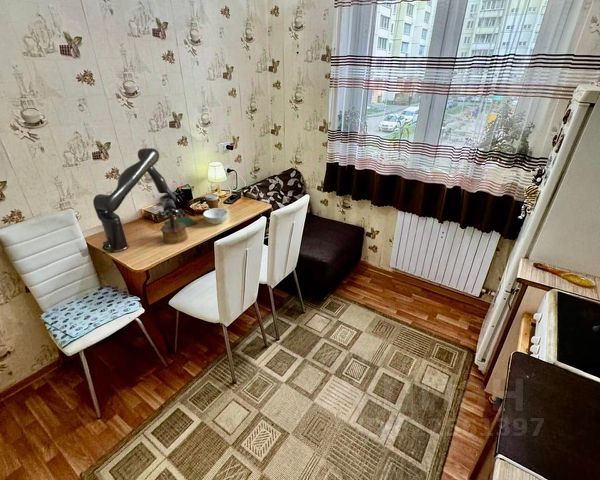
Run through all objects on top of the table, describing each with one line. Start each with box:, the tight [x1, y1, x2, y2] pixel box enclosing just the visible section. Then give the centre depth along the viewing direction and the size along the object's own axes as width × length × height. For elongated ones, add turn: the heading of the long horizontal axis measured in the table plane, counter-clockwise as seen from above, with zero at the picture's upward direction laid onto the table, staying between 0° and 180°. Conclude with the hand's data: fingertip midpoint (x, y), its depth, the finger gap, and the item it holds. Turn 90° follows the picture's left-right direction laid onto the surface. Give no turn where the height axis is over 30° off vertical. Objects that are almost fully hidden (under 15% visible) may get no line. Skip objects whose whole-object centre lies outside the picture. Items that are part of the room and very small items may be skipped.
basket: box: [161, 227, 188, 245], centre depth 191 cm, size 14×14×8 cm
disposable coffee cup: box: [205, 193, 220, 209], centre depth 230 cm, size 10×10×12 cm
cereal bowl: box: [202, 207, 229, 225], centre depth 214 cm, size 17×17×7 cm
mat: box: [164, 215, 198, 228], centre depth 212 cm, size 16×16×1 cm
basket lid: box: [160, 213, 187, 233], centre depth 187 cm, size 15×15×10 cm
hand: (171, 217), depth 184 cm, fingers open, 8 cm apart
